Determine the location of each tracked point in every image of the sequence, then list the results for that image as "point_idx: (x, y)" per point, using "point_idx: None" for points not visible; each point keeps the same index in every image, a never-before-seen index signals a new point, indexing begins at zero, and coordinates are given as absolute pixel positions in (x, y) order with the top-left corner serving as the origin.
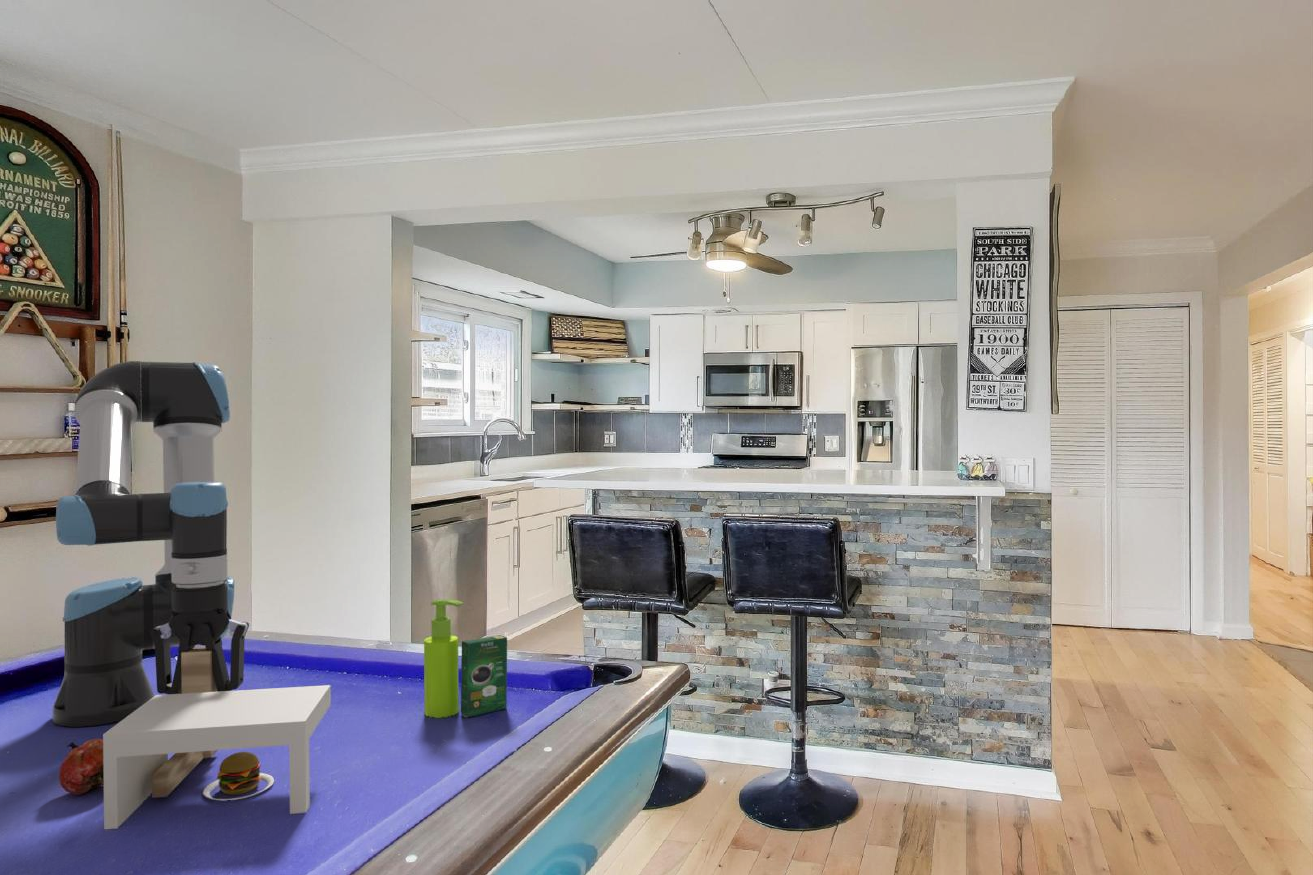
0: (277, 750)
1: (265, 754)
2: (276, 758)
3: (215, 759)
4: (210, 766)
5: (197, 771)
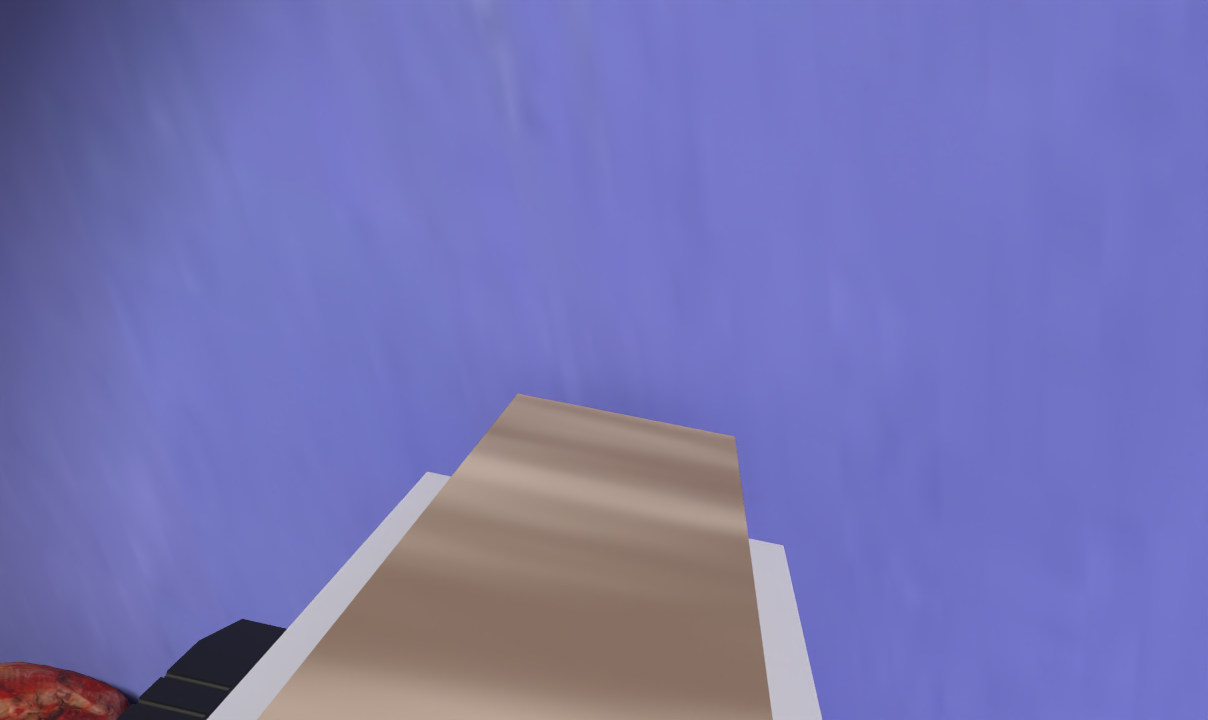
0: (1182, 513)
1: (1081, 564)
2: (1159, 680)
3: None
4: None
5: None
